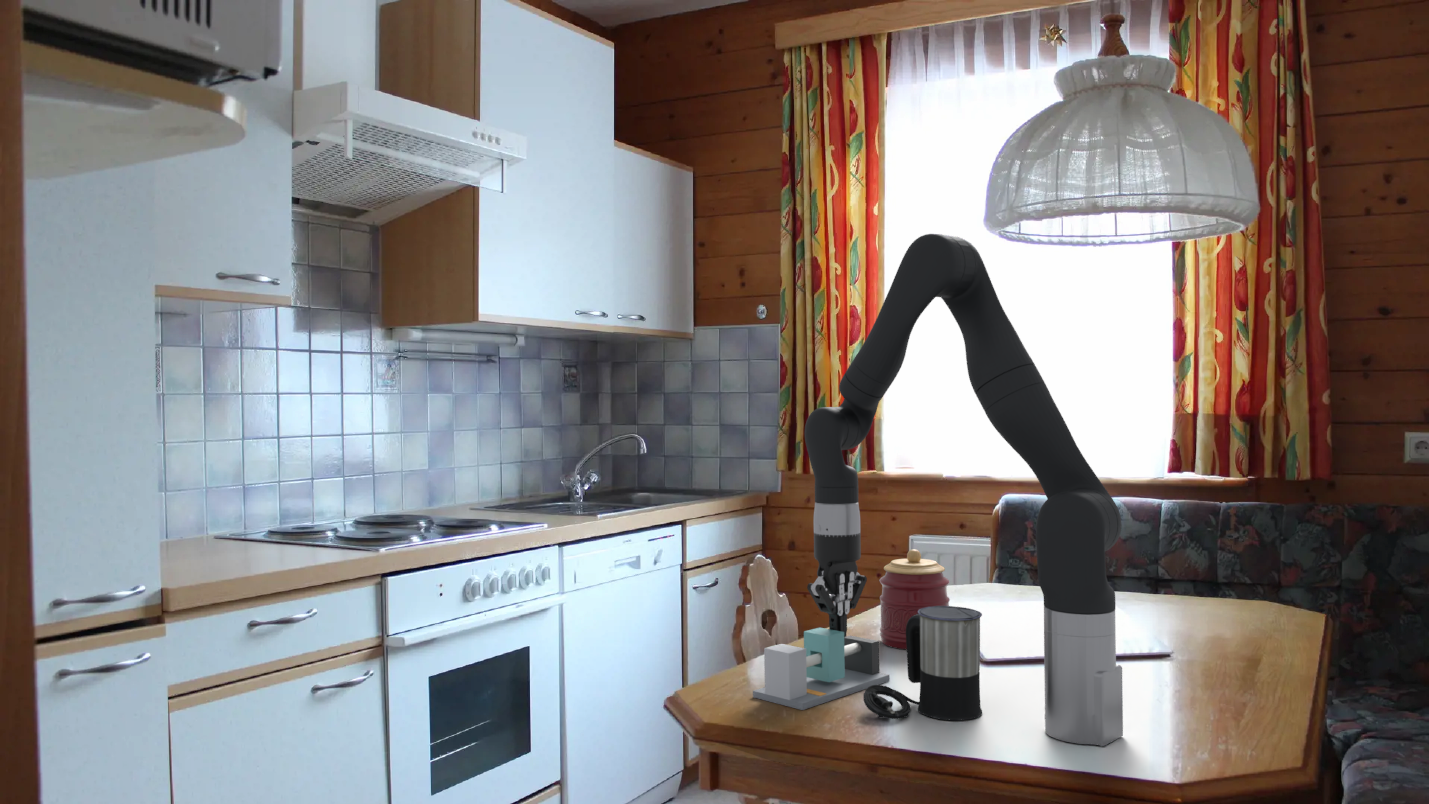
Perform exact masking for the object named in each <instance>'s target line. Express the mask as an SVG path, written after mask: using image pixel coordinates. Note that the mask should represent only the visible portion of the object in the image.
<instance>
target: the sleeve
mask: <svg viewBox="0 0 1429 804" xmlns="http://www.w3.org/2000/svg"><path fill="white" fill-rule="evenodd" d="M803 648H805V649H806V657H807V656H810V655H814V654H817V653H822V663H820V664H817V665H813V666H810V667H807V668H806V672H807V677H808V678H812V679H817V680H821V681H825V682H832V681H835V680H838V679H841V678H844V677H845V660H844V632H841V631H836V630H830V629H829V628H825V627H824V628H823V627H816V628H812V629H809V630H808V629H807V630H804V631H803Z"/></svg>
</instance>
